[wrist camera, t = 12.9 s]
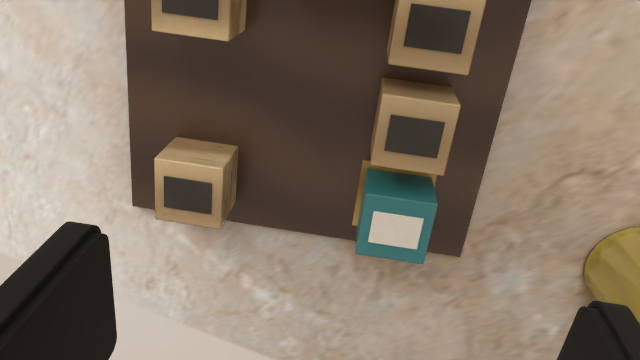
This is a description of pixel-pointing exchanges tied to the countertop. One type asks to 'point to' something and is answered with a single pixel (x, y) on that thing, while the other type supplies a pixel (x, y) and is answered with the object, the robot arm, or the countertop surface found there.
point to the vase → (616, 270)
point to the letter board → (308, 108)
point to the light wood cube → (200, 18)
